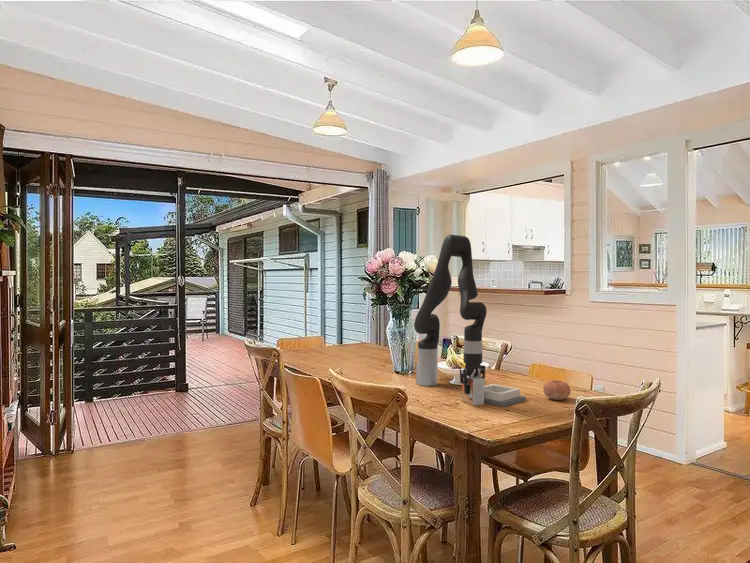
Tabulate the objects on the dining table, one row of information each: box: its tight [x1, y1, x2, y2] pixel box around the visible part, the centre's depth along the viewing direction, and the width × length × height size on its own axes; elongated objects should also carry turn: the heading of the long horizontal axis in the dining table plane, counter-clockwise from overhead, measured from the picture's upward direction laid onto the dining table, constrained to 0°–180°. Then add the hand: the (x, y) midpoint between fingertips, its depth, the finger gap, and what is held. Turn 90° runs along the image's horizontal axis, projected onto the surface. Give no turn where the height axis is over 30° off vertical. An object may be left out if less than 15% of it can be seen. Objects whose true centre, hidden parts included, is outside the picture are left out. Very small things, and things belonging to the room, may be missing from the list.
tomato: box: [542, 380, 572, 401], centre depth 219 cm, size 11×11×8 cm
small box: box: [461, 375, 485, 406], centre depth 212 cm, size 8×6×10 cm
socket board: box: [484, 383, 527, 408], centre depth 217 cm, size 18×16×4 cm
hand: (472, 392), depth 212 cm, fingers closed on small box, 6 cm apart
